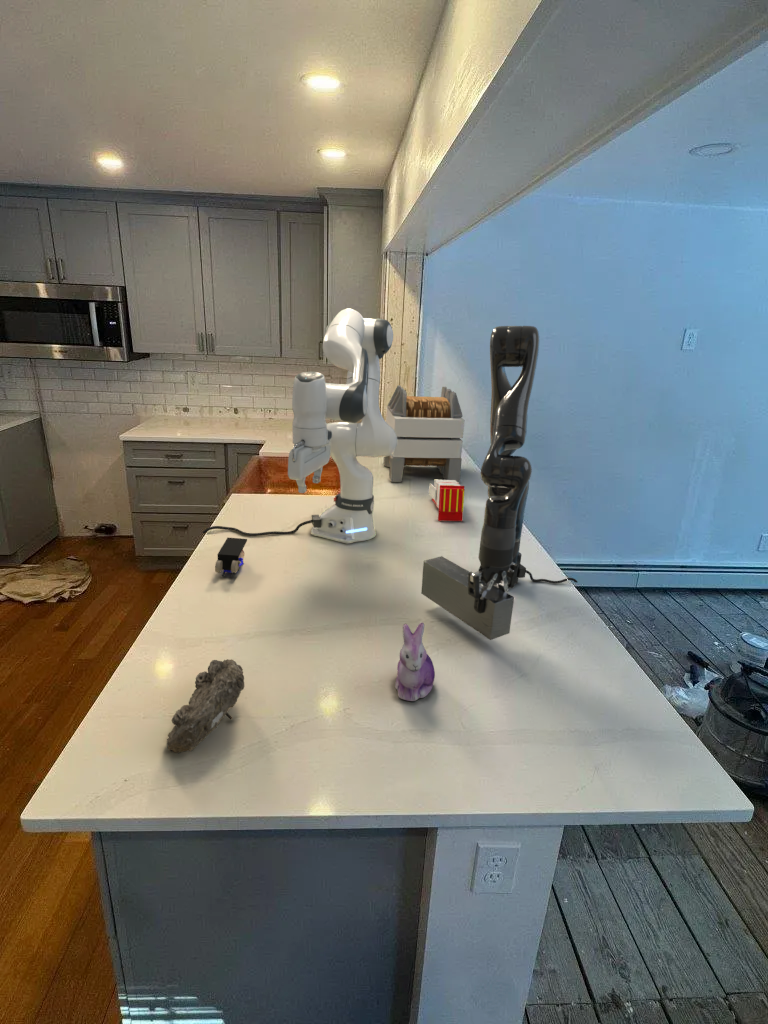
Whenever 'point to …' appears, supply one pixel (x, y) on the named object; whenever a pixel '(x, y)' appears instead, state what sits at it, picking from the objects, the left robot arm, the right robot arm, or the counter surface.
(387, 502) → the counter surface
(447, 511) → the toy
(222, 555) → the figurine character
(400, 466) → the transformer
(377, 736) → the counter surface
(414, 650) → the figurine
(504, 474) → the right robot arm
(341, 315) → the left robot arm
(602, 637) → the counter surface
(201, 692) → the fossil
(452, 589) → the box
